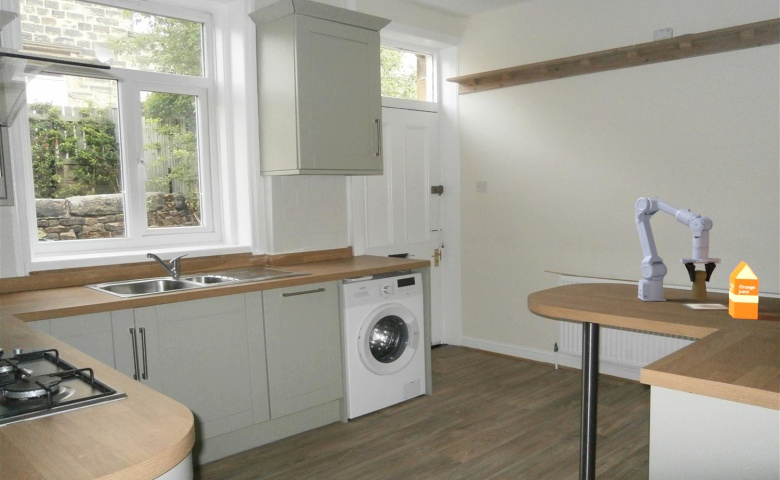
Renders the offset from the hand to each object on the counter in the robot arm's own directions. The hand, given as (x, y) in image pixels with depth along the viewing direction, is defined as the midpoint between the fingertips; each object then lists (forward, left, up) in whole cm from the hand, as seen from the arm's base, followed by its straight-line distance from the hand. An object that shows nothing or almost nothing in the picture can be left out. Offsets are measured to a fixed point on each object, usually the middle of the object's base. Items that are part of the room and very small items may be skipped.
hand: (699, 281), depth 234 cm
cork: (0, +1, -7) cm, 7 cm away
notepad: (+3, 0, -10) cm, 11 cm away
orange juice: (+9, -16, -11) cm, 21 cm away
